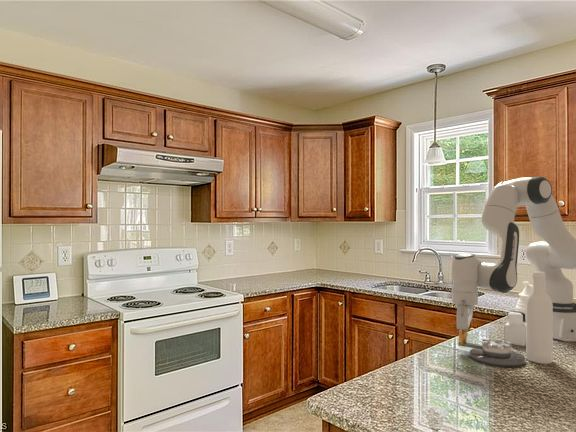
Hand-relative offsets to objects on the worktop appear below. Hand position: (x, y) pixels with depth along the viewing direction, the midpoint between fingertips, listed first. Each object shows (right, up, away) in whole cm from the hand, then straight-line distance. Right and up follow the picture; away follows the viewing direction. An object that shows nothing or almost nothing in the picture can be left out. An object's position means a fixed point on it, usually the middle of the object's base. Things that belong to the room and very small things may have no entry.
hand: (464, 336), depth 156 cm
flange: (+8, -5, -8) cm, 12 cm away
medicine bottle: (+25, -6, +12) cm, 28 cm away
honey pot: (+54, -7, +53) cm, 76 cm away
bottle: (+22, -6, -10) cm, 24 cm away
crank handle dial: (+4, -4, -6) cm, 8 cm away
